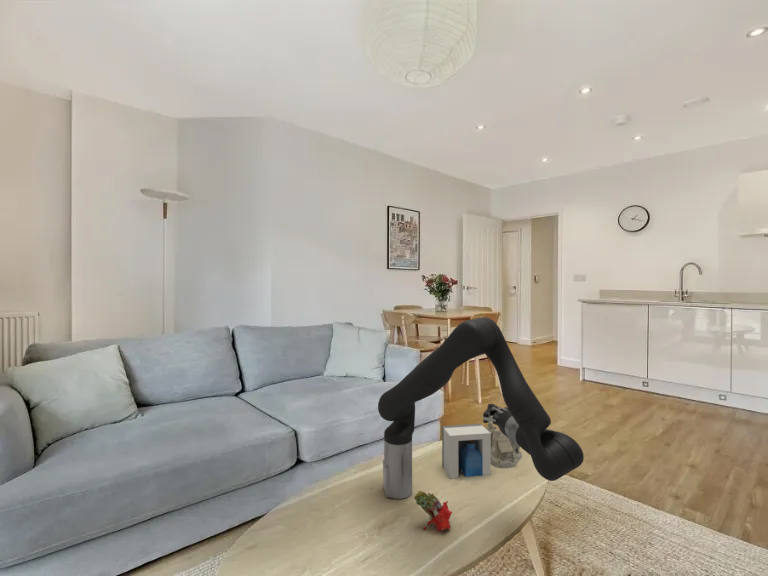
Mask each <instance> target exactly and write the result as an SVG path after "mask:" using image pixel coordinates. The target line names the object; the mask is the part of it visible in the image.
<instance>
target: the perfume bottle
mask: <svg viewBox="0 0 768 576" xmlns="http://www.w3.org/2000/svg"><path fill="white" fill-rule="evenodd" d="M475 446H476V442H475V440H467V441H466V446H463V448H462V449H461V451H460V467H459V470H460V471H461V472H462V474H463V475H464V477H465V478H472V477H473V478H474V477H482V476H483V458H482V456H481V455H480V453H479V451H478V449H477V448H476V447H475Z"/></svg>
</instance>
